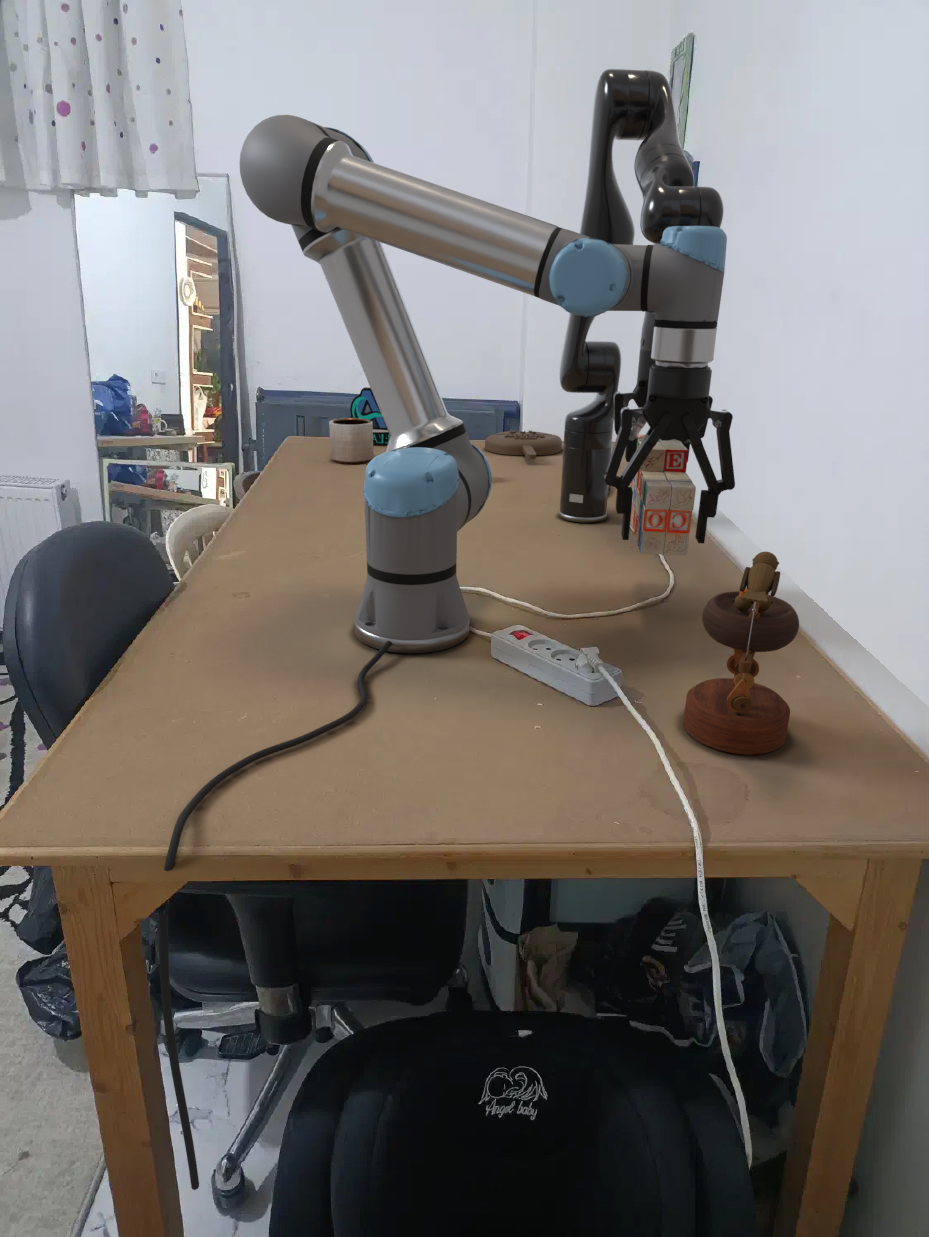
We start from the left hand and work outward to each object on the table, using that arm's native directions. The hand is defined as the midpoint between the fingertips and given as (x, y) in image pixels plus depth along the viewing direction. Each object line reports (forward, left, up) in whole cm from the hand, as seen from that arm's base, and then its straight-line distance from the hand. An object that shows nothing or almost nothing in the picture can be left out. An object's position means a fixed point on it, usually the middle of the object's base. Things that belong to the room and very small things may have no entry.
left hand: (662, 538), depth 113 cm
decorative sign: (+120, +66, -12) cm, 138 cm away
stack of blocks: (+7, 0, -1) cm, 7 cm away
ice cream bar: (+114, +22, -12) cm, 117 cm away
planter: (+99, +65, -12) cm, 119 cm away
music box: (-29, -5, -12) cm, 32 cm away
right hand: (+15, 0, +7) cm, 16 cm away
